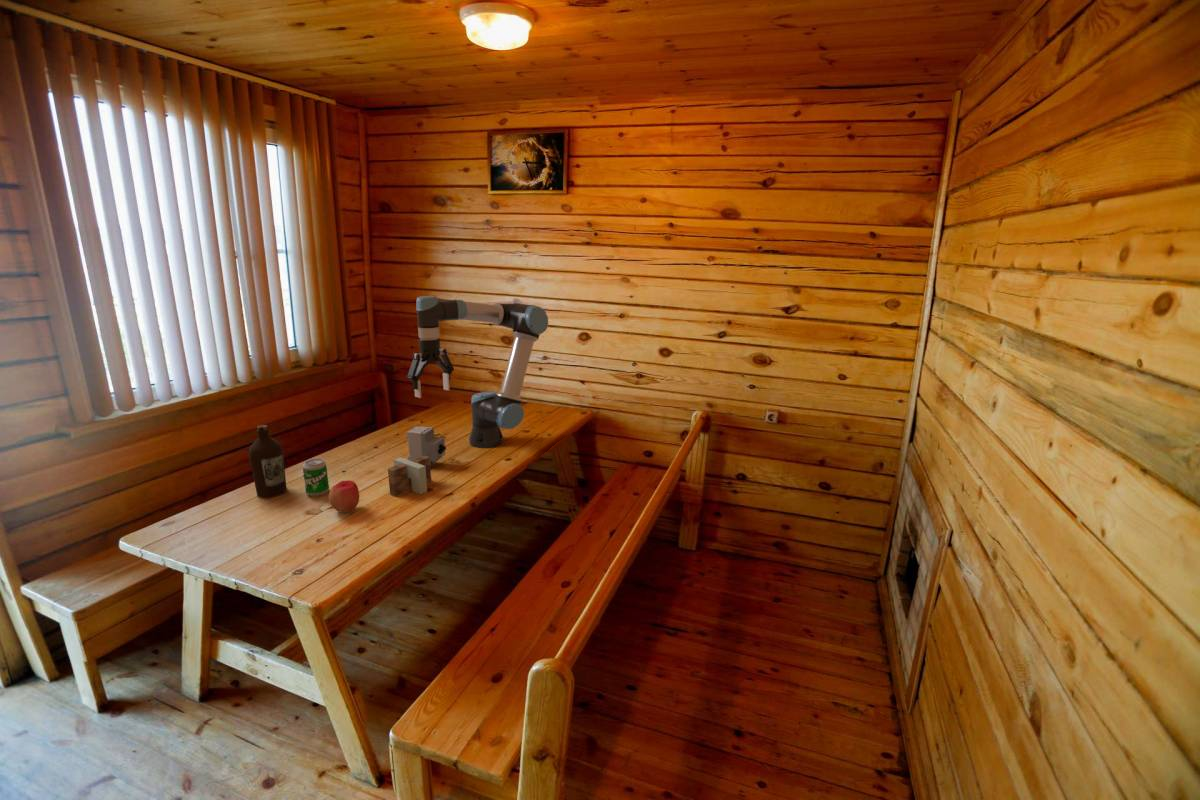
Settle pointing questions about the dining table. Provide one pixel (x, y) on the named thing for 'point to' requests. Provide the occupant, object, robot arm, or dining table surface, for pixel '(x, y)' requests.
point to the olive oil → (267, 464)
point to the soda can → (315, 477)
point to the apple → (344, 496)
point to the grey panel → (414, 474)
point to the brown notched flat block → (405, 476)
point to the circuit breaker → (425, 444)
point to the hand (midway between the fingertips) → (432, 393)
